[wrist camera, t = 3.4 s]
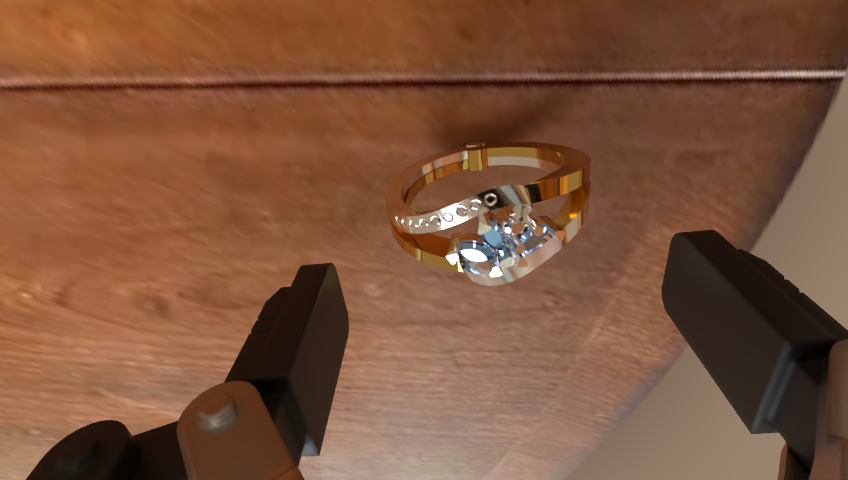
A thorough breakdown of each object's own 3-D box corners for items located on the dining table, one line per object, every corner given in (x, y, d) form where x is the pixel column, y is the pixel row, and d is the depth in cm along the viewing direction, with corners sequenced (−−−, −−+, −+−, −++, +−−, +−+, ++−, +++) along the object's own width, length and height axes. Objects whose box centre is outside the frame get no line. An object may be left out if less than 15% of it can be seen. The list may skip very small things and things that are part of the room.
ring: (560, 102, 17) (640, 183, 11) (558, 176, 19) (626, 288, 12) (388, 124, 18) (358, 215, 11) (401, 194, 20) (381, 310, 13)
